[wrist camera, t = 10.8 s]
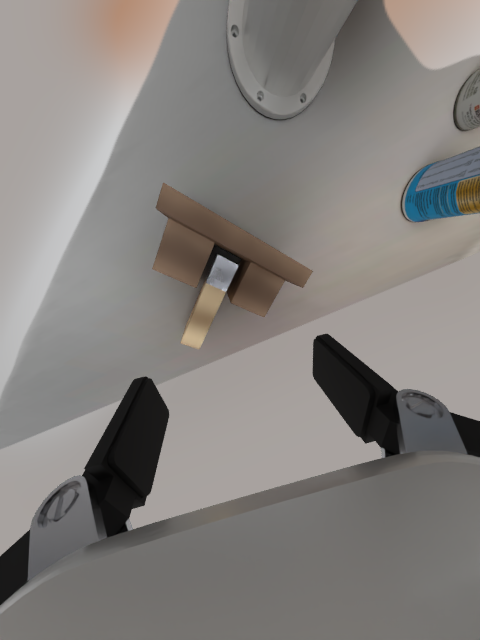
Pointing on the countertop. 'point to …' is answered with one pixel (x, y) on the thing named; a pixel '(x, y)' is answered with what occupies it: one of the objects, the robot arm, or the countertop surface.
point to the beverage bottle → (445, 189)
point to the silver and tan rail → (208, 301)
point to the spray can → (468, 104)
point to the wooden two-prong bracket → (211, 229)
